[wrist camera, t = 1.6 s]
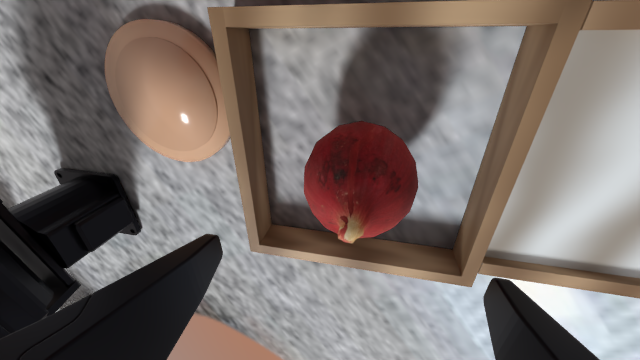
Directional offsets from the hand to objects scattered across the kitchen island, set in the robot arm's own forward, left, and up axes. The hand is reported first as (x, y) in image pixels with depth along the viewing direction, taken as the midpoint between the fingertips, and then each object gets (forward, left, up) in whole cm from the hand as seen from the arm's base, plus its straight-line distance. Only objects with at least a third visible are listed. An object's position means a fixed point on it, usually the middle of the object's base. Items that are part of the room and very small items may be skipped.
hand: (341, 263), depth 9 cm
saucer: (-13, +3, -10) cm, 16 cm away
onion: (0, 0, -10) cm, 10 cm away
